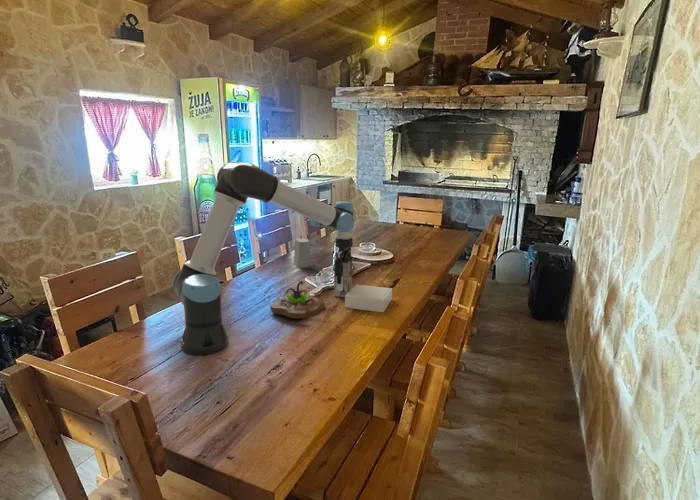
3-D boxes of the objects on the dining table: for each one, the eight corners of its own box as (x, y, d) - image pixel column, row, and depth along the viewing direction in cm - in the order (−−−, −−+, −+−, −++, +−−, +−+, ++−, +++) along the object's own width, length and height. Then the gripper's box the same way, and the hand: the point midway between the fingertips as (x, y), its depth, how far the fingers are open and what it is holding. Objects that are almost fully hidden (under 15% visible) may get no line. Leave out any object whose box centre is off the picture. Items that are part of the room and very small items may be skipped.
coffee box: (338, 289, 193) (339, 255, 189) (352, 291, 192) (353, 256, 188) (333, 296, 184) (334, 260, 180) (348, 297, 183) (348, 261, 179)
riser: (383, 312, 167) (383, 299, 165) (344, 307, 171) (345, 295, 170) (391, 299, 181) (392, 287, 180) (356, 295, 186) (356, 283, 185)
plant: (333, 307, 172) (333, 281, 170) (301, 322, 157) (300, 293, 154) (296, 297, 184) (296, 272, 181) (263, 310, 168) (262, 283, 166)
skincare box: (293, 267, 230) (293, 238, 226) (305, 265, 233) (305, 237, 229) (298, 271, 222) (298, 241, 219) (311, 269, 225) (311, 240, 222)
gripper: (344, 243, 171) (343, 295, 176) (359, 233, 191) (358, 281, 196) (326, 241, 173) (326, 293, 178) (343, 232, 193) (343, 279, 198)
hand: (343, 287), depth 187 cm, fingers closed on coffee box, 9 cm apart
